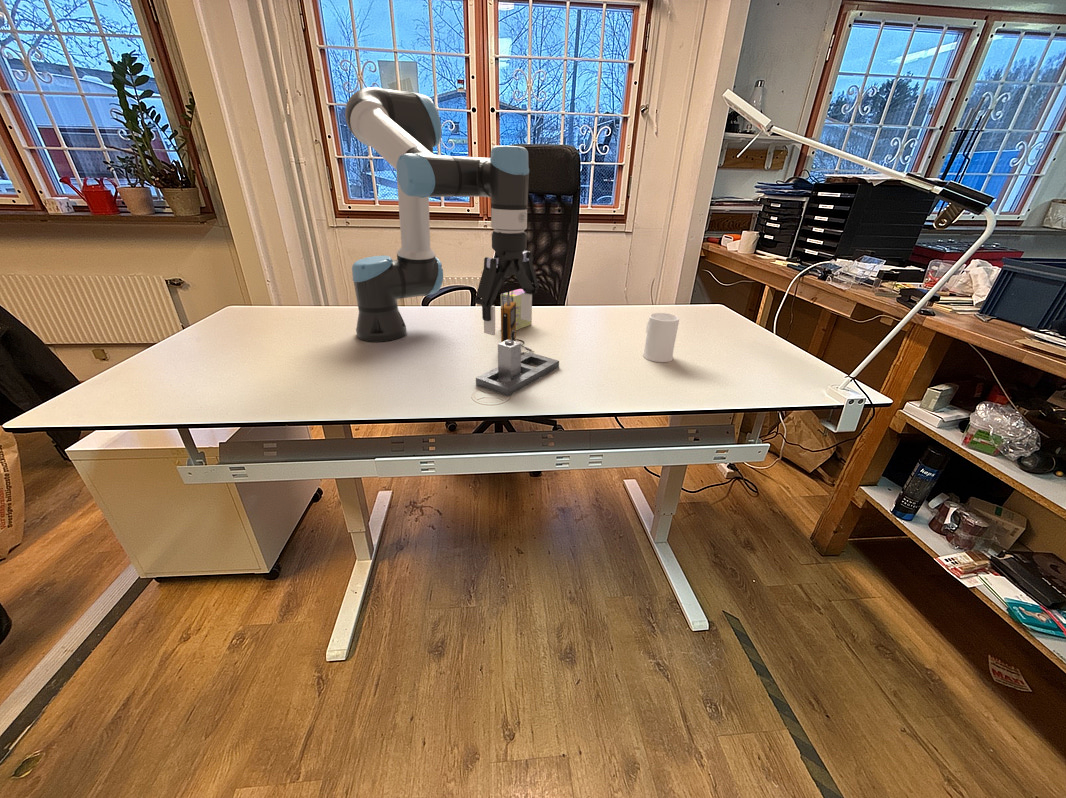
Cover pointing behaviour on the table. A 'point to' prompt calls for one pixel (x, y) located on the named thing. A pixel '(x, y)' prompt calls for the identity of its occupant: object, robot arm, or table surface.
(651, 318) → the mug
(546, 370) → the grey flat frame
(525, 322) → the box
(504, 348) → the grey tall block
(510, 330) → the multimeter
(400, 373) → the table surface
